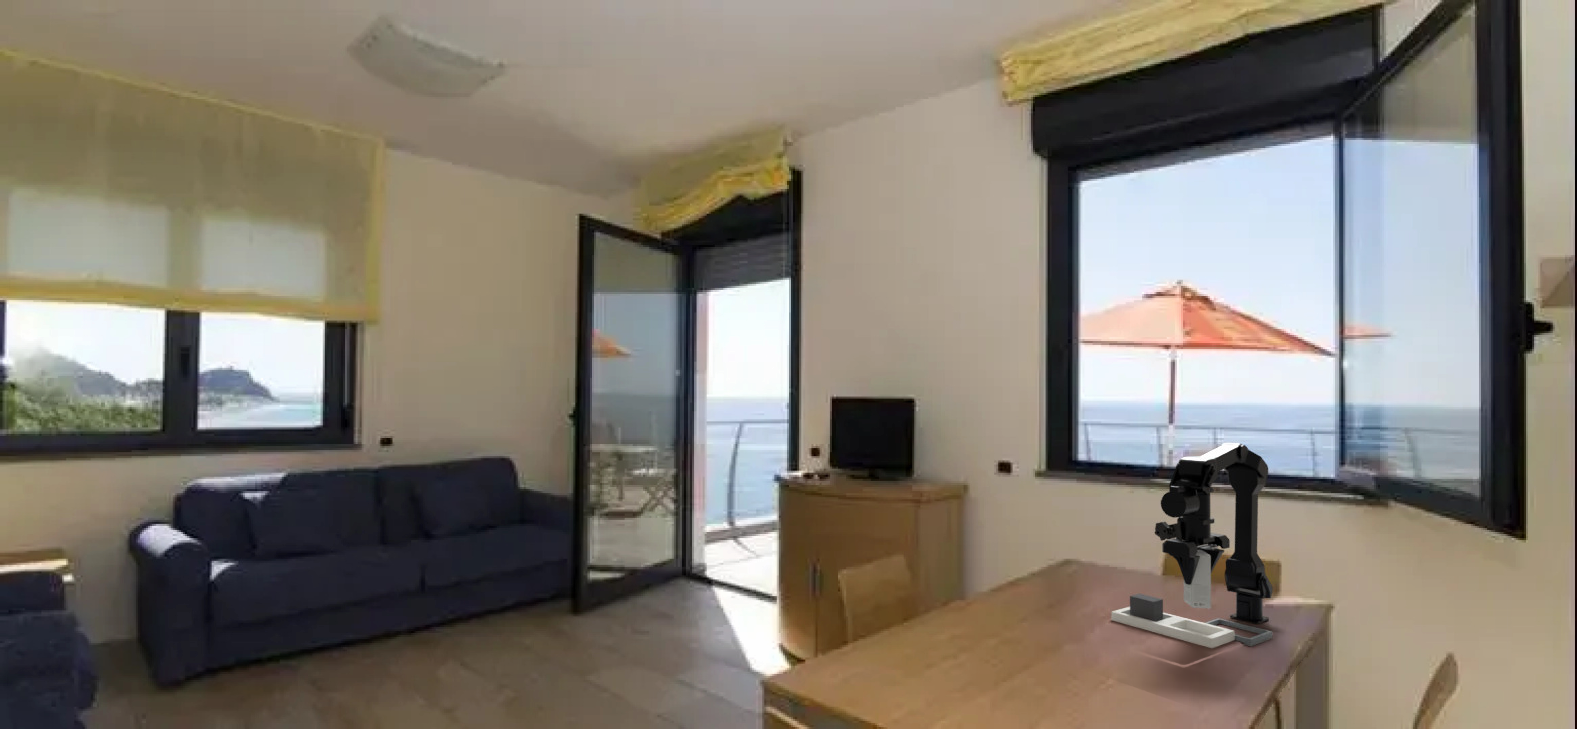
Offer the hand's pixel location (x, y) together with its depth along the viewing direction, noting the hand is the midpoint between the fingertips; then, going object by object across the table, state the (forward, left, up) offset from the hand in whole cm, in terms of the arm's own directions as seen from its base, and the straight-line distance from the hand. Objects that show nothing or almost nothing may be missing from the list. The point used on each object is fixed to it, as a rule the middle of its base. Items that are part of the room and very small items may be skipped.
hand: (1196, 582), depth 177 cm
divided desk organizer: (0, -6, -13) cm, 14 cm away
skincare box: (0, 0, -5) cm, 5 cm away
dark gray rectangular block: (0, -12, -12) cm, 17 cm away
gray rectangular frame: (-10, +3, -13) cm, 17 cm away
